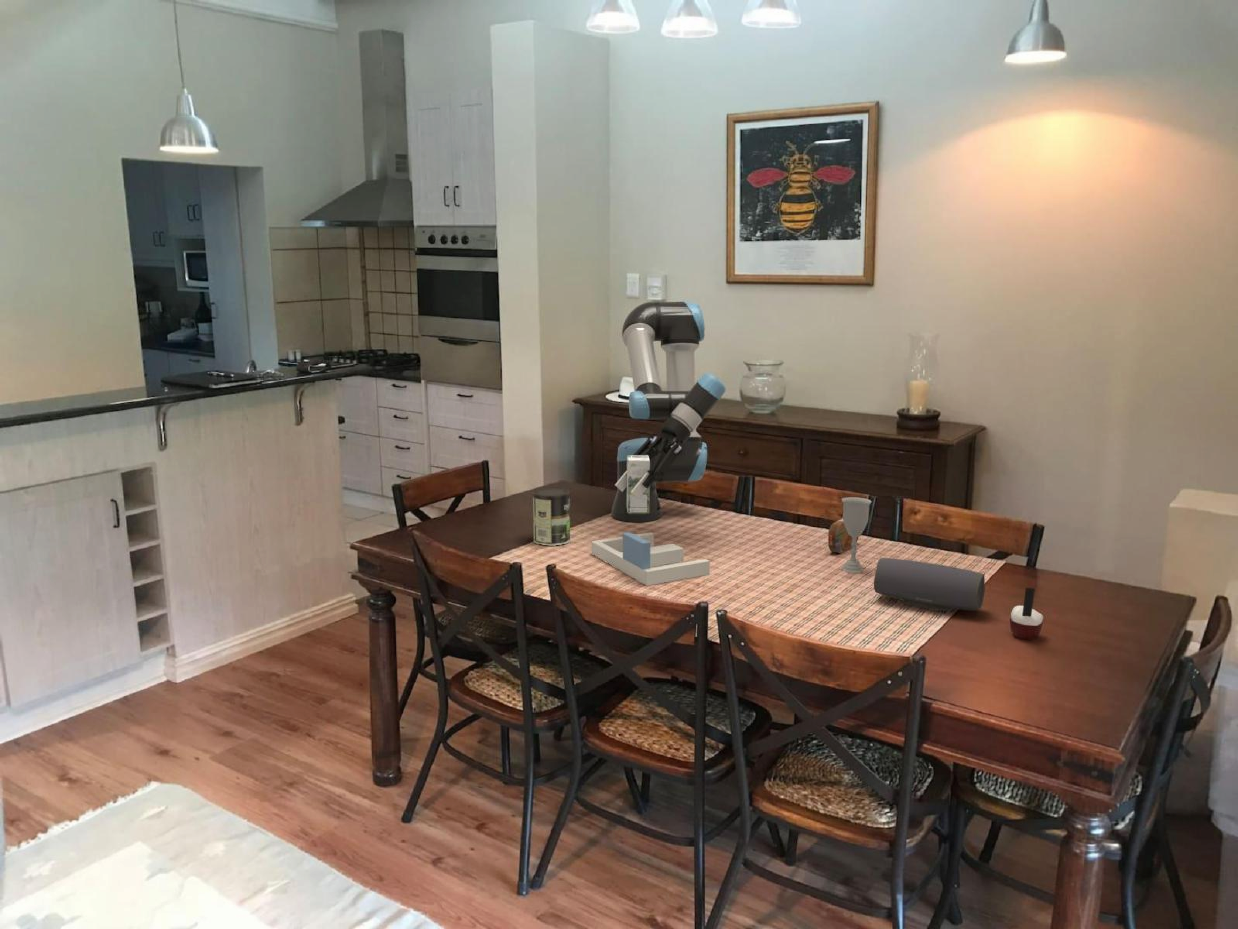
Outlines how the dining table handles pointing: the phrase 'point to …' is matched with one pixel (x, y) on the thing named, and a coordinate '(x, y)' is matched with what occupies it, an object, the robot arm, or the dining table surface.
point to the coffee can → (551, 516)
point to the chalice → (855, 527)
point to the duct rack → (648, 559)
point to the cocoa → (1026, 618)
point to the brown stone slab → (839, 537)
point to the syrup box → (635, 472)
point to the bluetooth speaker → (929, 584)
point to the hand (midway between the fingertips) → (626, 491)
